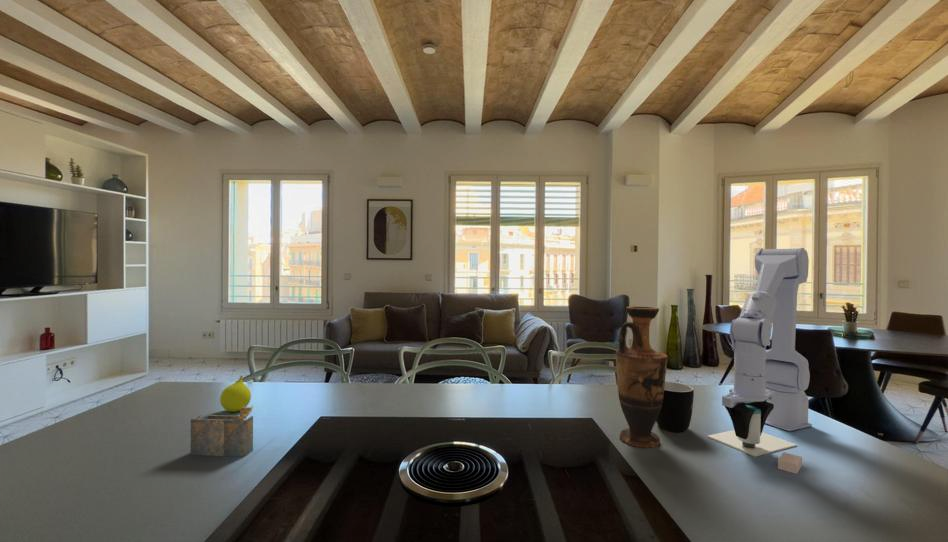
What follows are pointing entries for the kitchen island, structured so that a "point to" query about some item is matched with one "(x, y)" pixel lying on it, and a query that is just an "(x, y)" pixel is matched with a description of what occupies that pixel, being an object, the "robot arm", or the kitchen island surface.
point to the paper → (764, 447)
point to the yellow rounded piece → (235, 396)
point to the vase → (640, 379)
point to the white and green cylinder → (753, 429)
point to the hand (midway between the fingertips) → (748, 435)
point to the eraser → (790, 462)
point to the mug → (676, 407)
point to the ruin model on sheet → (222, 434)
